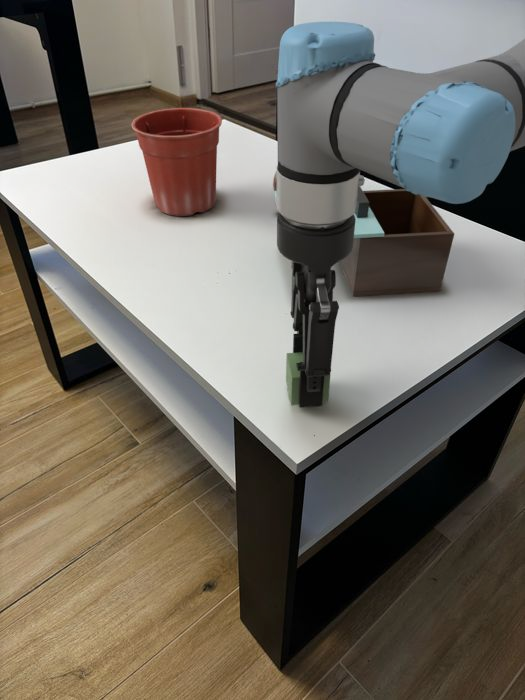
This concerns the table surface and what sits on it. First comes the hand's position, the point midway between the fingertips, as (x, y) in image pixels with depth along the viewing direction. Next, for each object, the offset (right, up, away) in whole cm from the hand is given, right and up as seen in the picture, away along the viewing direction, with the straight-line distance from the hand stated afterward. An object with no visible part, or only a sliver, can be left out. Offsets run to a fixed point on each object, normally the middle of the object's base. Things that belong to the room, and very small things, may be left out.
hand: (306, 389), depth 66 cm
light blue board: (+4, +26, +17) cm, 31 cm away
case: (+15, +19, +24) cm, 34 cm away
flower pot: (-21, +34, +43) cm, 59 cm away
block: (0, 0, 0) cm, 0 cm away
